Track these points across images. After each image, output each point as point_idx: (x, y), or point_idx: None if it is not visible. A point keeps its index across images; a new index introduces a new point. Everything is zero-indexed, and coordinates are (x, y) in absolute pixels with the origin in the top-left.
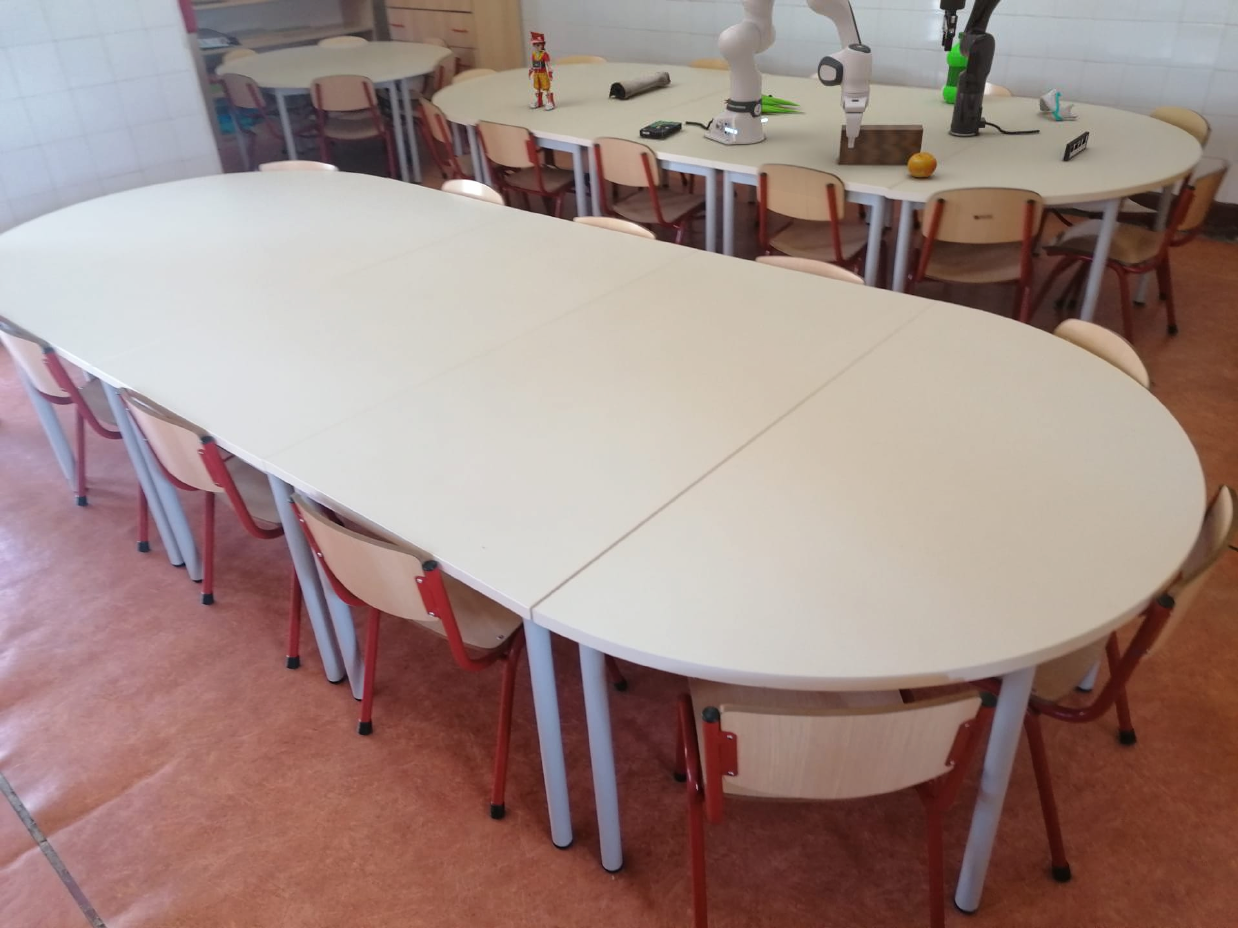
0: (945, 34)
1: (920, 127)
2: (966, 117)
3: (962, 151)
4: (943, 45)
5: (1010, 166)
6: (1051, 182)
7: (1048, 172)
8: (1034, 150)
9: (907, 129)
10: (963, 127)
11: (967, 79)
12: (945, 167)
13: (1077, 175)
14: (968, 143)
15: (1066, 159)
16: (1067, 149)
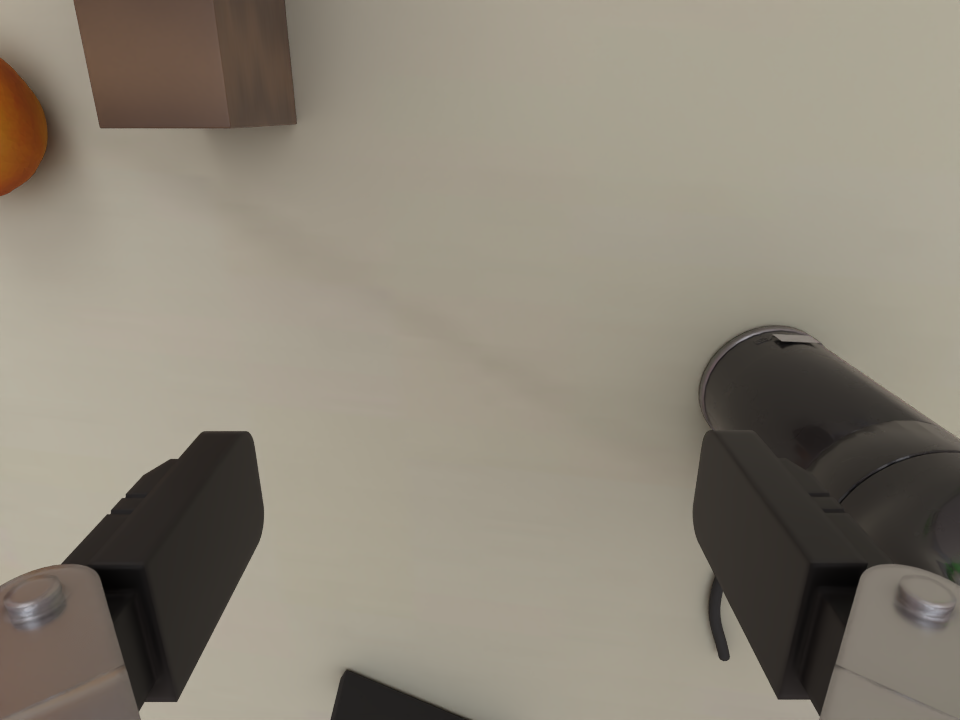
0: (802, 601)
1: (154, 110)
2: (736, 422)
3: (459, 353)
4: (707, 457)
5: None
6: None
7: None
8: (481, 607)
9: (79, 4)
10: (719, 393)
11: (861, 521)
12: (187, 254)
13: None
14: (593, 391)
15: (341, 680)
16: (334, 708)
